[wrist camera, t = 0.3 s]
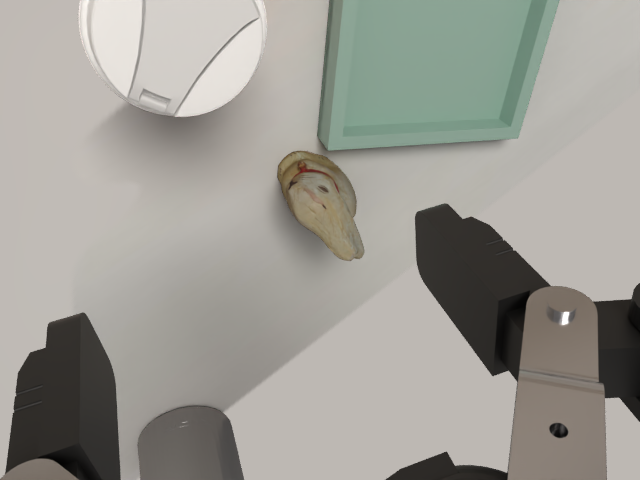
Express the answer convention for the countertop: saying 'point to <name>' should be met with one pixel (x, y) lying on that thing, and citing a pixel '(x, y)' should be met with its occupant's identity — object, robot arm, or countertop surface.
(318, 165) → the chocolate bunny
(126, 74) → the paper cup
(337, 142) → the tray
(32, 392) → the robot arm
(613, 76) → the countertop surface
